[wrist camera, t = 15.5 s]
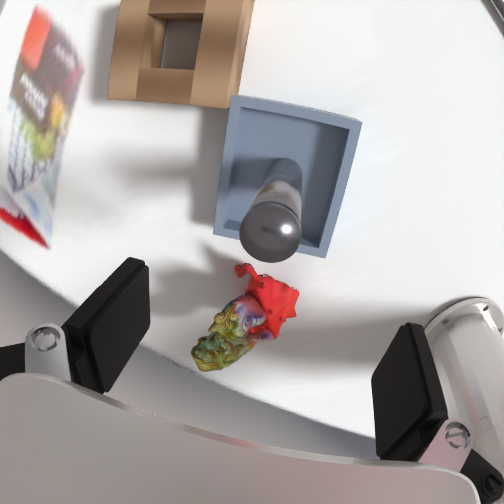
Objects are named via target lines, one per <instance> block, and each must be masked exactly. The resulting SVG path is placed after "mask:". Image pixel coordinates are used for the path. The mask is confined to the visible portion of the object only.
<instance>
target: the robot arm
mask: <svg viewBox="0 0 504 504" xmlns="http://www.w3.org/2000/svg"><path fill="white" fill-rule="evenodd" d="M149 326H150V300H149V268H148V266H146V265H145V262H144V261H143V260H139V259H136V258H132V257H129V258H127V259H126V260H125V261H124V262H123V263H122V264H121V265H120V266H119V267H118V268H117V269H116V270H115V271H114V272H113V273H112V274H111V275H110V276H109V277H108V278H107V279H106V280H105V281H104V282H103V284H102V285H100V286H99V287H98V288H97V289H96V290H95V291H94V292H93V293H92V294H91V295H90V296H89V297H88V298H87V299H86V300H85V301H84V302H83V304H82V305H81V306H80V307H79V308H78V309H77V310H76V311H75V312H74V313H73V314H72V316H71V317H70V318H69V319H68V320H67V321H66V322H65V323H64V324H63V325H62V327H61V328H60V327H59V326H57V325H55V324H50V323H47V324H41V325H38V326H36V327H34V328H33V329H31V330H30V331H29V333H28V334H27V336H26V340H25V343H20V344H15V345H10V346H5V347H0V504H504V340H503V338H502V334H503V330H504V316H503V313H502V311H501V310H500V308H499V307H498V305H497V304H496V303H494V302H493V301H491V300H489V299H485V298H473V299H467V300H464V301H461V302H459V303H456V304H454V305H452V306H450V307H449V308H447V309H446V310H444V311H443V312H441V313H440V314H439V315H438V316H436V317H435V318H434V319H433V320H432V321H431V322H430V323H429V324H428V325H427V327H426V328H425V330H424V329H423V326H422V325H419V324H414V323H409V322H408V323H406V324H405V326H404V325H402V326H401V327H400V328H399V330H398V332H397V334H396V335H395V337H394V339H393V341H392V342H391V344H390V346H389V348H388V349H387V351H386V353H385V355H384V356H383V358H382V360H381V361H380V363H379V365H378V366H377V368H376V369H375V371H374V373H373V375H372V379H371V386H372V396H373V408H374V421H375V437H376V454H377V456H379V457H380V460H373V459H361V458H349V457H339V456H330V455H322V454H315V453H308V452H301V451H295V450H289V449H283V448H277V447H272V446H267V445H262V444H258V443H253V442H248V441H244V440H240V439H236V438H231V437H227V436H223V435H220V434H216V433H212V432H209V431H205V430H202V429H198V428H194V427H191V426H187V425H185V424H181V423H178V422H175V421H172V420H169V419H166V418H163V417H160V416H157V415H154V414H152V413H149V412H146V411H143V410H141V409H138V408H135V407H133V406H130V405H127V404H124V403H122V402H119V401H117V400H114V399H112V398H110V397H107V396H105V395H103V393H104V392H109V391H110V389H111V388H112V386H113V384H114V383H115V381H116V379H117V378H118V376H119V375H120V373H121V371H122V370H123V368H124V367H125V365H126V363H127V362H128V360H129V359H130V357H131V356H132V354H133V352H134V351H135V349H136V348H137V346H138V345H139V343H140V341H141V340H142V338H143V337H144V335H145V334H146V332H147V330H148V329H149Z"/></svg>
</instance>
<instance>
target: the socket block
mask: <svg viewBox="0 0 504 504" xmlns="http://www.w3.org/2000/svg"><path fill="white" fill-rule="evenodd" d="M254 1H255V0H121V3H120V8H119V14H118V19H117V25H116V31H115V38H114V45H113V52H112V60H111V68H110V78H109V88H108V100H133V101H151V102H165V103H177V104H188V105H197V106H206V107H214V108H222V109H227V108H230V103H231V96H232V95H238V92H239V86H240V79H241V73H242V67H243V62H244V56H245V50H246V44H247V39H248V33H249V28H250V22H251V17H252V11H253V6H254ZM167 22H202V27H201V33H200V39H199V45H198V51H197V57H196V64H195V70H187V69H168V68H160V66H161V59H162V52H163V45H164V39H165V33H166V27H167Z"/></svg>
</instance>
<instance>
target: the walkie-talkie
mask: <svg viewBox="0 0 504 504" xmlns="http://www.w3.org/2000/svg"><path fill="white" fill-rule="evenodd" d="M492 1H493V2H494V4H495V5H496V7H497V9H498V10H499V12H500V13H501V15H502V17H503V18H504V2H503V1H502V0H492Z"/></svg>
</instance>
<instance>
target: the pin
mask: <svg viewBox="0 0 504 504" xmlns="http://www.w3.org/2000/svg"><path fill="white" fill-rule="evenodd" d="M302 178H303V174H302V170H301V168H300V166H299V165H298V164H297V163H296V162H295V161H294V160H291V159H288V158H280V159H277V160H275V161H274V162H273V163H271V165H270V166H269V168H268V170H267V172H266V174H265V176H264V178H263V180H262V183H261V185H260V187H259V189H258V191H257V193H256V195H255V197H254V199H253V201H252V204H251V206H250V208H249V210H248V212H247V213H246V214H245V216H244V218H243V220H242V223H241V225H240V229H239V237H240V241H241V244H242V246H243V248H244V249H245V250H246V252H247V253H248V254H250V255H251V256H252V257H254V258H255V259H257V260H260V261H263V262H268V263H275V262H280V261H283V260H286V259H287V258H289V257H291V256H292V255H293V254H294V253H295V252H296V250H297V249H298V247H299V244H300V240H301V203H302Z"/></svg>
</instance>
